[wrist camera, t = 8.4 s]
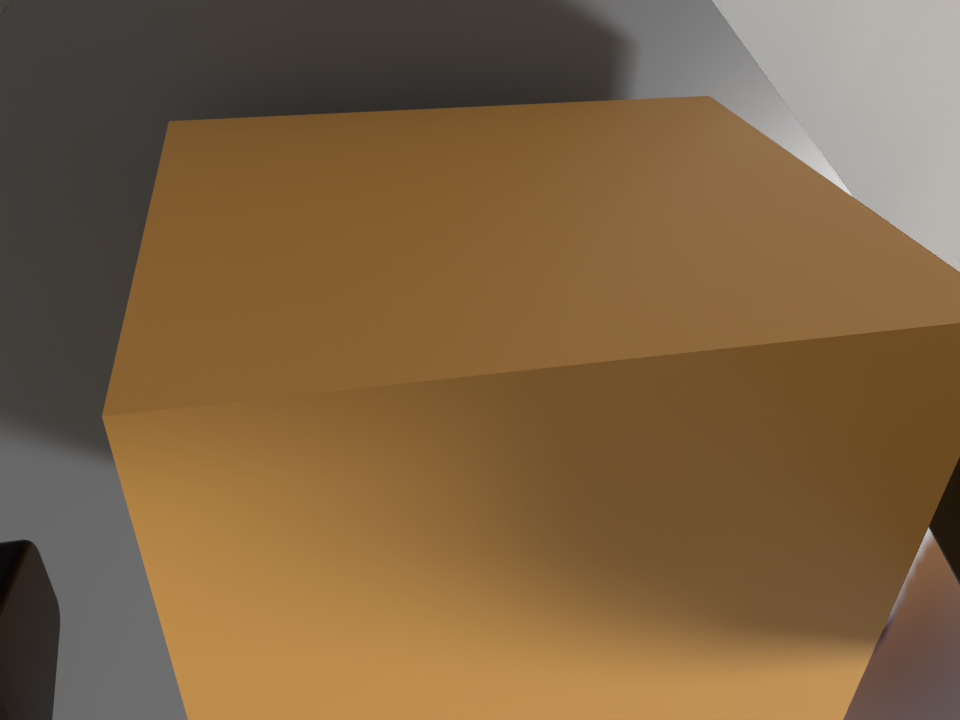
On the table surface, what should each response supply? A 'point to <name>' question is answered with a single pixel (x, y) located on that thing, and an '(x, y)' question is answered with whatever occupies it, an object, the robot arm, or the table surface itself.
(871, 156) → the table surface
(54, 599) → the robot arm
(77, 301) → the plate
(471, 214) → the cardboard cube
